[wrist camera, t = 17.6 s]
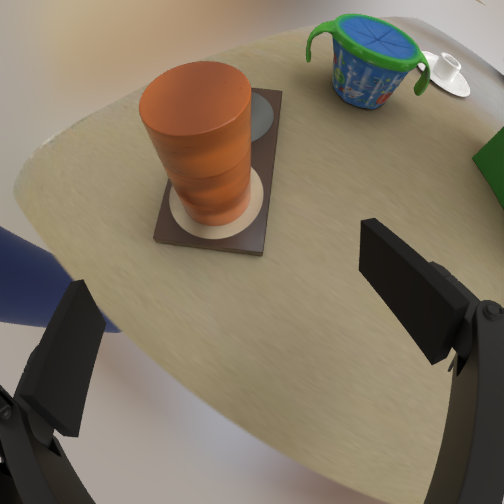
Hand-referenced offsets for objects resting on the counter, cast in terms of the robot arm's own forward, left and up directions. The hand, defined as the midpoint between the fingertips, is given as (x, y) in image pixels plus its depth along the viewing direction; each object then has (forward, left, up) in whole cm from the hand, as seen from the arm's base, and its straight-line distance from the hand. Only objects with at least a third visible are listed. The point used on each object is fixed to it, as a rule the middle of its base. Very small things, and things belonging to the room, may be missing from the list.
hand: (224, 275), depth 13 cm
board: (-3, +15, -13) cm, 20 cm away
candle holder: (+30, +42, -13) cm, 53 cm away
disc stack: (-3, +10, -11) cm, 15 cm away
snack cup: (+12, +29, -13) cm, 33 cm away
